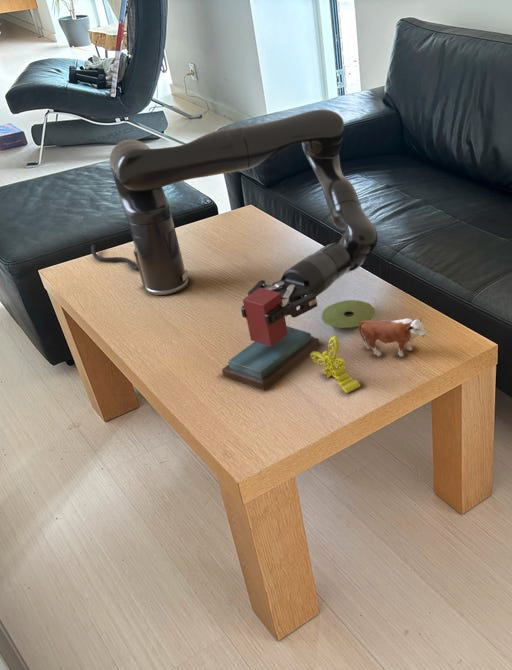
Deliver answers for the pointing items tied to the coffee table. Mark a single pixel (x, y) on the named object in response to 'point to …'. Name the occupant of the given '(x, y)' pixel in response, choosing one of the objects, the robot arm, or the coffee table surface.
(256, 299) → the pillar block
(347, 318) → the mat
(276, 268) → the coffee table surface
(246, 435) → the coffee table surface
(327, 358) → the decorative insect
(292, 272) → the robot arm
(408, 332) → the bull figurine
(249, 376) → the blue-grey flat block
